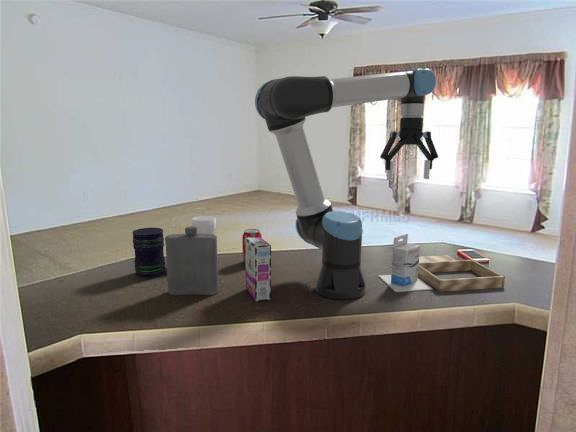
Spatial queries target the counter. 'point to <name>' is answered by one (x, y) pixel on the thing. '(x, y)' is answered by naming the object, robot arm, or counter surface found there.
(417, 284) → the mat
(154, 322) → the counter surface
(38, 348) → the counter surface
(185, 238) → the flask
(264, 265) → the candy bar box
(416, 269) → the ink box
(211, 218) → the cup
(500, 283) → the mailer box
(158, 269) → the storage jar
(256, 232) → the soda can
